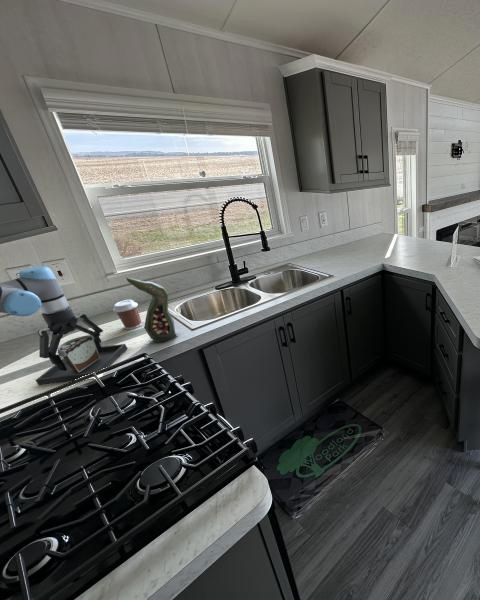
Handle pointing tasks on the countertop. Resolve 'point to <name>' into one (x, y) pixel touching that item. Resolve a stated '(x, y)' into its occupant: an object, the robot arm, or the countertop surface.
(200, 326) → the countertop surface
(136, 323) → the coffee cup
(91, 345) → the food container
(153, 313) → the tentacle
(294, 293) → the countertop surface
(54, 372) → the storage tray
